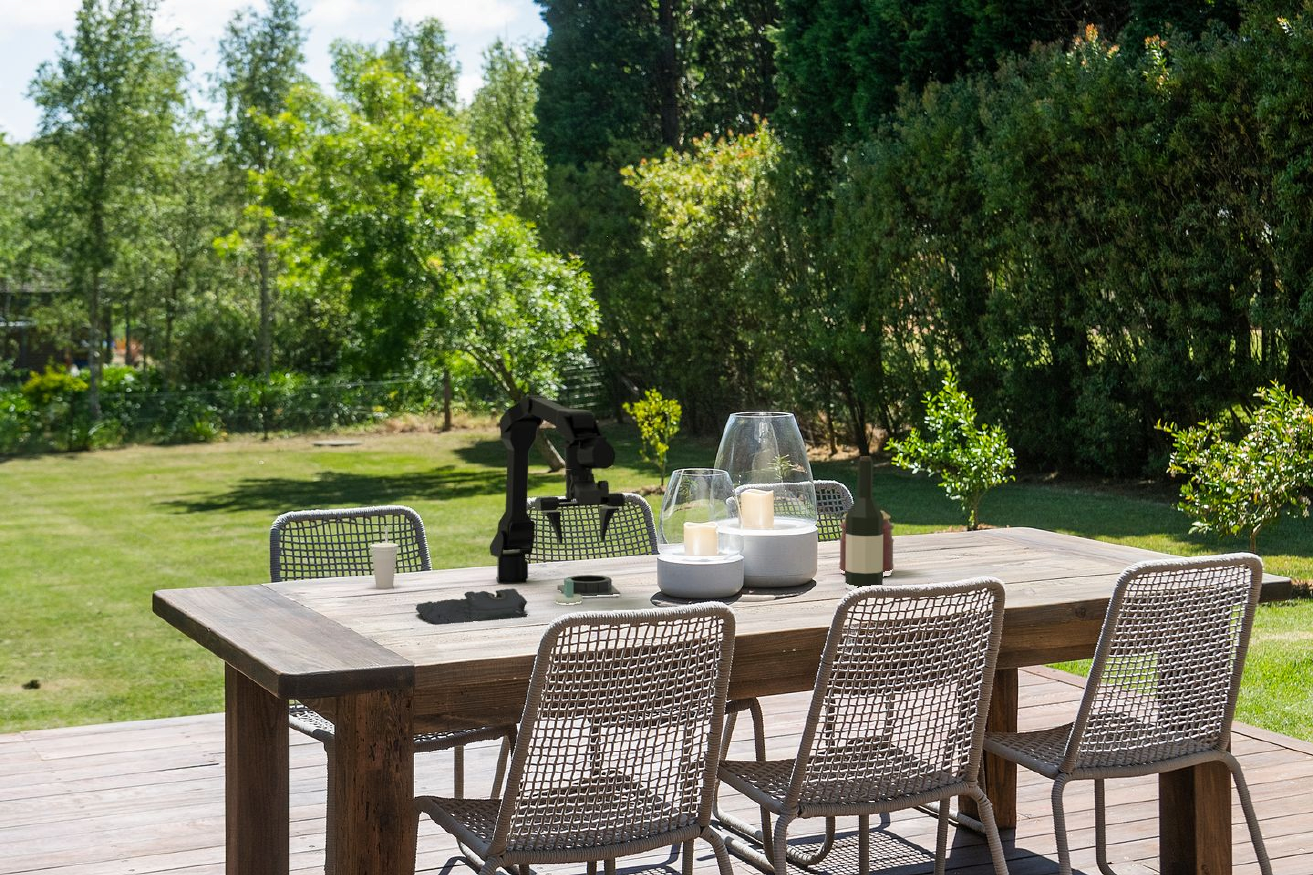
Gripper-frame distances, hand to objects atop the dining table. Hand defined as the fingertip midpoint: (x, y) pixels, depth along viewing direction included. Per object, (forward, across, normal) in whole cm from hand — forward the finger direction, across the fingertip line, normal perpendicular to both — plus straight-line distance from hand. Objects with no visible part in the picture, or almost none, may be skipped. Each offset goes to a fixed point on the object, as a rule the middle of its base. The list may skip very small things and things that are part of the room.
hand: (581, 542), depth 283 cm
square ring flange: (+12, +4, +10) cm, 16 cm away
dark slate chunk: (+13, -25, -5) cm, 29 cm away
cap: (+13, -3, 0) cm, 13 cm away
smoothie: (+10, -38, +32) cm, 51 cm away
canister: (+14, +75, +13) cm, 77 cm away
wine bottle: (+15, +64, -5) cm, 66 cm away
